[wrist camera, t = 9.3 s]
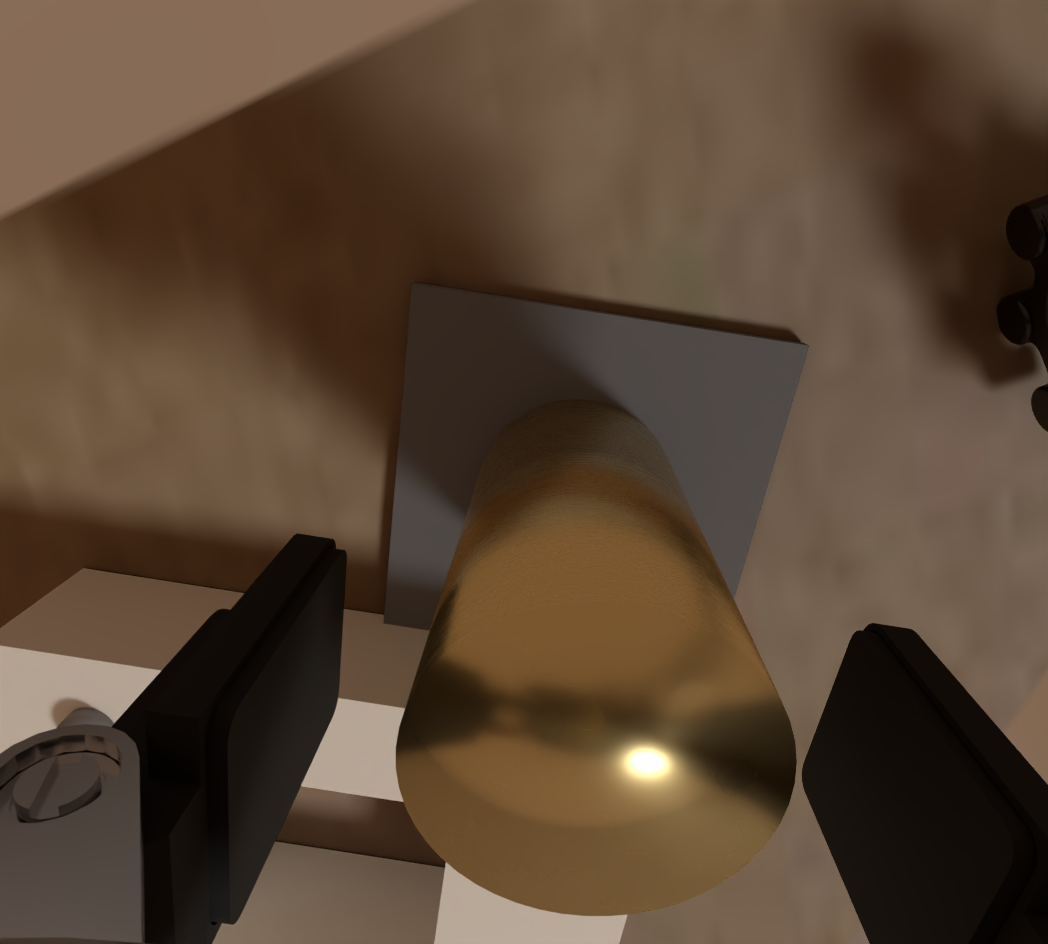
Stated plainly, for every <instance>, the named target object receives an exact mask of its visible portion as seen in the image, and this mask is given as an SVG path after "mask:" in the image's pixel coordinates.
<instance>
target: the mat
mask: <svg viewBox="0 0 1048 944" xmlns="http://www.w3.org/2000/svg"><path fill="white" fill-rule="evenodd" d="M808 348H809V345H807V344H805V343H802V342H796V341H789V340H783V339H777V338H770V337H764V336H757V335H751V334H745V333H738V332H732V331H725V330H719V329H713V328H706V327H700V326H693V325H687V324H681V323H674V322H668V321H661V320H655V319H648V318H642V317H636V316H629V315H623V314H616V313H610V312H604V311H597V310H591V309H584V308H578V307H572V306H565V305H559V304H552V303H546V302H540V301H533V300H527V299H520V298H514V297H508V296H501V295H495V294H488V293H482V292H475V291H469V290H463V289H456V288H450V287H443V286H437V285H431V284H424V283H418V282H415V283H412V287H411V299H410V311H409V323H408V335H407V347H406V359H405V371H404V383H403V395H402V407H401V419H400V431H399V443H398V455H397V467H396V479H395V491H394V503H393V515H392V527H391V539H390V551H389V563H388V575H387V587H386V599H385V611H384V624H390V625H396V626H403V627H409V628H416V629H422V630H429V631H430V628H431V625H432V622H433V619H434V616H435V612H436V609H437V606H438V603H439V600H440V597H441V593H442V590H443V587H444V584H445V581H446V578H447V574H448V571H449V568H450V565H451V562H452V559H453V556H454V552H455V549H456V546H457V543H458V540H459V537H460V533H461V530H462V527H463V524H464V521H465V518H466V514H467V511H468V508H469V505H470V502H471V499H472V495H473V492H474V489H475V486H476V483H477V480H478V477H479V473H480V470H481V467H482V464H483V461H484V458H485V456H486V454H487V452H488V450H489V448H490V446H491V445H492V443H493V442H494V440H495V439H496V438H497V436H498V435H499V434H500V433H501V432H502V431H503V430H504V428H505V427H506V426H508V425H509V424H510V423H511V422H512V421H514V420H515V419H516V418H518V417H519V416H521V415H522V414H524V413H526V412H527V411H529V410H532V409H534V408H536V407H538V406H541V405H544V404H547V403H551V402H555V401H561V400H572V399H582V400H593V401H597V402H602V403H606V404H609V405H612V406H615V407H617V408H619V409H621V410H623V411H625V412H627V413H629V414H631V415H632V416H633V417H635V418H636V419H638V420H639V421H640V422H642V423H643V424H644V425H645V426H646V427H647V428H648V429H649V430H650V431H651V432H652V433H653V435H654V436H655V437H656V438H657V440H658V441H659V443H660V444H661V446H662V448H663V449H664V451H665V453H666V456H667V458H668V460H669V462H670V464H671V466H672V468H673V471H674V473H675V475H676V477H677V479H678V481H679V483H680V486H681V488H682V490H683V492H684V494H685V496H686V498H687V500H688V503H689V505H690V507H691V509H692V511H693V513H694V515H695V518H696V520H697V522H698V524H699V526H700V528H701V530H702V533H703V535H704V537H705V539H706V541H707V543H708V545H709V548H710V550H711V552H712V554H713V556H714V558H715V560H716V562H717V565H718V567H719V569H720V571H721V573H722V575H723V577H724V580H725V582H726V584H727V586H728V588H729V590H730V592H731V595H732V597H733V599H734V597H735V593H736V590H737V586H738V583H739V580H740V576H741V573H742V570H743V566H744V563H745V560H746V556H747V553H748V549H749V546H750V543H751V539H752V536H753V533H754V529H755V526H756V523H757V519H758V516H759V512H760V509H761V506H762V502H763V499H764V496H765V492H766V489H767V486H768V482H769V479H770V475H771V472H772V469H773V465H774V462H775V459H776V455H777V452H778V449H779V445H780V442H781V438H782V435H783V432H784V428H785V425H786V422H787V418H788V415H789V412H790V408H791V405H792V401H793V398H794V395H795V391H796V388H797V385H798V381H799V378H800V375H801V371H802V368H803V364H804V361H805V358H806V354H807V351H808Z"/></svg>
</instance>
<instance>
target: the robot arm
mask: <svg viewBox="0 0 1048 944" xmlns="http://www.w3.org/2000/svg"><path fill="white" fill-rule="evenodd" d="M346 564H347V555H346V551H345V550H339V549H336V544H335V541H334V539H329V538H323V537H316V536H310V535H304V534H296V535H294V536H293V537H292V538H291V540H290V541H289V542H288V543H287V544H286V545H285V547H284V548H283V549H282V550H281V551H280V552H279V554H278V555H277V556H276V557H275V558H274V559H273V561H272V562H271V563H270V564H269V565H268V566H267V568H266V569H265V570H264V571H263V572H262V573H261V575H260V576H259V577H258V578H257V579H256V580H255V582H254V583H253V584H252V585H251V586H250V587H249V589H248V590H247V591H246V592H245V593H244V594H243V596H242V597H241V598H240V599H239V600H238V601H237V603H236V604H235V605H234V606H233V607H232V608H231V610H229V609H219V610H217V611H216V612H214V613H213V614H212V615H211V616H210V617H209V618H208V619H207V620H206V621H205V623H204V624H203V625H202V626H201V627H200V628H199V629H198V630H197V631H196V633H195V634H194V635H193V636H192V637H191V638H190V639H189V640H188V642H187V643H186V644H185V645H184V646H183V647H182V648H181V649H180V650H179V652H178V653H177V654H176V655H175V656H174V657H173V658H172V659H171V661H170V662H169V663H168V664H167V665H166V666H165V667H164V668H163V669H162V671H161V672H160V673H159V674H158V675H157V676H156V677H155V678H154V680H153V681H152V682H151V683H150V684H149V685H148V686H147V687H146V688H145V690H144V691H143V692H142V693H141V694H140V695H139V696H138V697H137V699H136V700H135V701H134V702H133V703H132V704H131V705H130V706H129V708H128V709H127V710H126V711H125V712H124V713H123V714H122V715H121V716H120V718H119V719H118V720H117V721H116V722H115V723H114V724H113V725H112V727H109V726H103V725H92V724H82V725H73V726H63V727H59V728H56V729H52V730H49V731H45V732H42V733H38V734H36V735H33V736H31V737H29V738H27V739H25V740H23V741H20V742H18V743H16V744H14V745H12V746H11V747H9V748H8V749H6V750H5V751H3V752H2V753H0V944H212V943H213V941H214V939H215V937H216V934H217V932H218V930H219V928H220V926H221V924H222V923H224V924H230V925H233V924H235V923H236V922H237V920H238V919H239V917H240V916H241V914H242V912H243V910H244V907H245V905H246V903H247V901H248V899H249V897H250V895H251V892H252V890H253V888H254V886H255V884H256V882H257V879H258V877H259V875H260V873H261V871H262V869H263V866H264V864H265V862H266V860H267V858H268V856H269V854H270V851H271V849H272V847H273V845H274V843H275V841H276V838H277V836H278V834H279V832H280V830H281V828H282V826H283V823H284V821H285V819H286V817H287V815H288V813H289V810H290V808H291V806H292V804H293V802H294V800H295V797H296V795H297V793H298V791H299V789H300V787H301V785H302V782H303V780H304V778H305V776H306V774H307V772H308V769H309V767H310V765H311V763H312V761H313V759H314V757H315V754H316V752H317V750H318V748H319V746H320V744H321V741H322V739H323V737H324V735H325V733H326V731H327V728H328V726H329V724H330V722H331V720H332V718H333V715H334V712H335V709H336V706H337V702H338V696H339V684H340V667H341V650H342V632H343V615H344V598H345V581H346ZM802 782H803V787H804V790H805V793H806V795H807V798H808V800H809V802H810V805H811V807H812V809H813V812H814V814H815V816H816V819H817V821H818V824H819V826H820V828H821V831H822V833H823V835H824V838H825V840H826V842H827V845H828V847H829V849H830V852H831V854H832V856H833V859H834V861H835V863H836V866H837V868H838V870H839V873H840V875H841V877H842V880H843V882H844V884H845V887H846V889H847V891H848V894H849V896H850V898H851V901H852V903H853V905H854V908H855V910H856V913H857V915H858V917H859V920H860V922H861V924H862V927H863V929H864V931H865V934H866V936H867V938H868V941H869V943H870V944H1048V785H1047V784H1046V782H1045V781H1044V780H1043V779H1042V778H1041V776H1040V775H1039V774H1038V773H1037V772H1036V771H1035V770H1034V768H1033V767H1032V766H1031V765H1030V764H1029V763H1028V761H1027V760H1026V759H1025V758H1024V757H1023V756H1022V754H1021V753H1020V752H1019V751H1018V750H1017V749H1016V748H1015V746H1014V745H1013V744H1012V743H1011V742H1010V741H1009V740H1008V738H1007V737H1006V736H1005V735H1004V734H1003V732H1002V731H1001V730H1000V729H999V728H998V727H997V726H996V724H995V723H994V722H993V721H992V720H991V719H990V717H989V716H988V715H987V714H986V713H985V712H984V710H983V709H982V708H981V707H980V706H979V705H978V704H977V702H976V701H975V700H974V699H973V698H972V697H971V695H970V694H969V693H968V692H967V691H966V690H965V688H964V687H963V686H962V685H961V684H960V683H959V682H958V680H957V679H956V678H955V677H954V676H953V675H952V673H951V672H950V671H949V670H948V669H947V668H946V667H945V665H944V664H943V663H942V662H941V661H940V660H939V658H938V657H937V656H936V655H935V654H934V653H933V651H932V650H931V649H930V648H929V647H928V646H927V645H926V643H925V642H924V641H923V640H922V639H921V638H920V636H919V635H918V634H917V633H916V632H915V631H913V630H912V629H907V628H901V627H895V626H888V625H882V624H875V623H872V624H869V625H868V626H867V627H866V628H865V629H864V630H863V631H860V630H859V631H856V632H855V633H854V634H853V636H852V638H851V640H850V642H849V645H848V647H847V650H846V653H845V655H844V658H843V661H842V663H841V666H840V669H839V671H838V674H837V677H836V679H835V682H834V684H833V687H832V690H831V692H830V695H829V698H828V700H827V703H826V706H825V708H824V711H823V714H822V716H821V719H820V721H819V724H818V727H817V729H816V732H815V735H814V737H813V740H812V743H811V745H810V748H809V750H808V753H807V756H806V758H805V761H804V764H803V769H802Z"/></svg>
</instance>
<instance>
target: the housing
mask: <svg viewBox="0 0 1048 944" xmlns="http://www.w3.org/2000/svg"><path fill="white" fill-rule="evenodd" d="M243 594H244V593H240V592H233V591H227V590H221V589H214V588H208V587H201V586H195V585H188V584H182V583H176V582H169V581H163V580H156V579H150V578H143V577H137V576H131V575H124V574H118V573H111V572H105V571H98V570H92V569H86V568H83V569H81V570H80V571H79V572H77V573H76V574H75V575H73V576H72V577H70V578H69V579H68V580H66V581H65V582H63V583H62V584H61V585H59V586H58V587H56V588H55V589H54V590H52V591H51V592H50V593H48V594H47V595H45V596H44V597H43V598H41V599H40V600H38V601H37V602H36V603H34V604H33V605H32V606H30V607H29V608H27V609H26V610H25V611H23V612H22V613H20V614H19V615H18V616H16V617H15V618H14V619H12V620H11V621H9V622H8V623H7V624H5V625H4V626H2V627H1V628H0V753H2V752H3V751H5V750H6V749H8V748H9V747H11V746H12V745H14V744H16V743H18V742H20V741H23V740H25V739H27V738H29V737H31V736H33V735H36V734H38V733H42V732H45V731H49V730H52V729H56V728H59V727H63V726H73V725H82V724H92V725H103V726H109V727H112V725H113V724H114V723H115V722H116V721H117V720H118V719H119V718H120V716H121V715H122V714H123V713H124V712H125V711H126V710H127V709H128V708H129V706H130V705H131V704H132V703H133V702H134V701H135V700H136V699H137V697H138V696H139V695H140V694H141V693H142V692H143V691H144V690H145V688H146V687H147V686H148V685H149V684H150V683H151V682H152V681H153V680H154V678H155V677H156V676H157V675H158V674H159V673H160V672H161V671H162V669H163V668H164V667H165V666H166V665H167V664H168V663H169V662H170V661H171V659H172V658H173V657H174V656H175V655H176V654H177V653H178V652H179V650H180V649H181V648H182V647H183V646H184V645H185V644H186V643H187V642H188V640H189V639H190V638H191V637H192V636H193V635H194V634H195V633H196V631H197V630H198V629H199V628H200V627H201V626H202V625H203V624H204V623H205V621H206V620H207V619H208V618H209V617H210V616H211V615H212V614H213V613H214V612H216V611H217V610H219V609H229V610H231V608H232V607H233V606H234V605H235V604H236V603H237V601H238V600H239V599H240V598H241V597H242V596H243ZM428 634H429V630H422V629H416V628H409V627H403V626H396V625H390V624H384V615H381V614H375V613H369V612H362V611H356V610H349V609H344V615H343V632H342V650H341V667H340V684H339V696H338V702H337V706H336V709H335V712H334V715H333V718H332V720H331V722H330V724H329V726H328V728H327V731H326V733H325V735H324V737H323V739H322V741H321V744H320V746H319V748H318V750H317V752H316V754H315V757H314V759H313V761H312V763H311V765H310V767H309V769H308V772H307V774H306V776H305V778H304V780H303V782H302V785H301V786H304V787H310V788H317V789H323V790H330V791H336V792H342V793H349V794H355V795H362V796H368V797H375V798H381V799H388V800H394V801H400V802H403V798H402V795H401V792H400V789H399V785H398V779H397V773H396V743H397V737H398V731H399V726H400V723H401V720H402V717H403V713H404V710H405V707H406V704H407V701H408V698H409V695H410V691H411V688H412V685H413V682H414V679H415V676H416V672H417V669H418V666H419V663H420V660H421V657H422V653H423V650H424V647H425V644H426V641H427V638H428ZM626 918H627V915H616V916H579V915H569V914H560V913H555V912H550V911H544V910H539V909H536V908H532V907H529V906H525V905H522V904H518V903H515V902H513V901H510V900H508V899H505V898H503V897H500V896H498V895H496V894H494V893H492V892H490V891H488V890H486V889H484V888H482V887H480V886H478V885H476V884H475V883H473V882H472V881H470V880H469V879H467V878H466V877H464V876H463V875H461V874H460V873H458V872H457V871H456V870H455V869H453V868H452V867H451V866H450V865H449V864H448V863H446V865H445V868H444V867H437V866H431V865H424V864H418V863H411V862H405V861H399V860H392V859H386V858H379V857H373V856H366V855H360V854H353V853H347V852H340V851H334V850H328V849H321V848H315V847H308V846H302V845H295V844H289V843H282V842H276V841H275V843H274V845H273V847H272V849H271V851H270V854H269V856H268V858H267V860H266V862H265V864H264V866H263V869H262V871H261V873H260V875H259V877H258V879H257V882H256V884H255V886H254V888H253V890H252V892H251V895H250V897H249V899H248V901H247V903H246V905H245V907H244V910H243V912H242V914H241V916H240V917H239V919H238V920H237V922H236V923H235V924H233V925H230V924H224V923H222V924H221V926H220V928H219V930H218V932H217V934H216V937H215V939H214V941H213V943H212V944H619V942H620V939H621V935H622V932H623V928H624V925H625V921H626Z"/></svg>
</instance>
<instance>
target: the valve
mask: <svg viewBox="0 0 1048 944" xmlns="http://www.w3.org/2000/svg"><path fill="white" fill-rule="evenodd" d="M1006 234H1007V239H1008V242H1009V244H1010V246H1011V248H1012V250H1013V251H1014V252H1015V254H1016V255H1017V256H1019V257H1020V258H1022V259H1024V260H1028V261H1031V263H1032V265H1033V268H1034V273H1035V280H1034V286H1033V287H1030V288H1027V289H1024V290H1021V291H1019V292H1016V293H1013V294H1010V295H1007V296H1005V297H1003V298H1002V299H1001V300H1000V301H999V303H998V305H997V317H998V323H999V328H1000V330H1001V332H1002V333H1003V335H1004V336H1005V337H1006V338H1007V340H1009V341H1010V342H1011V343H1014V344H1017V345H1023V344H1026V343H1033V344H1034V345H1035V346H1036V347H1037V349H1038V350H1039V352H1040V354H1041V357H1042V359H1043V362H1044V364H1045V366H1046V369H1047V372H1048V194H1047V195H1045V196H1042V197H1039V198H1037V199H1034V200H1031V201H1029V202H1026V203H1023V204H1021V205H1018V206H1016V207H1015V208H1014V209H1013V210H1012V211H1011V212H1010V214H1009V216H1008V219H1007V223H1006ZM1031 406H1032V411H1033V413H1034V416H1035V418H1036V420H1037V421H1038V423H1039V424H1040V426H1041V427H1042V428H1043V429H1044V430H1046V431H1047V432H1048V384H1046V385H1043V386H1041V387H1038V388H1037V389H1036V390H1035V391H1034V392H1033V394H1032V398H1031Z"/></svg>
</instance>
